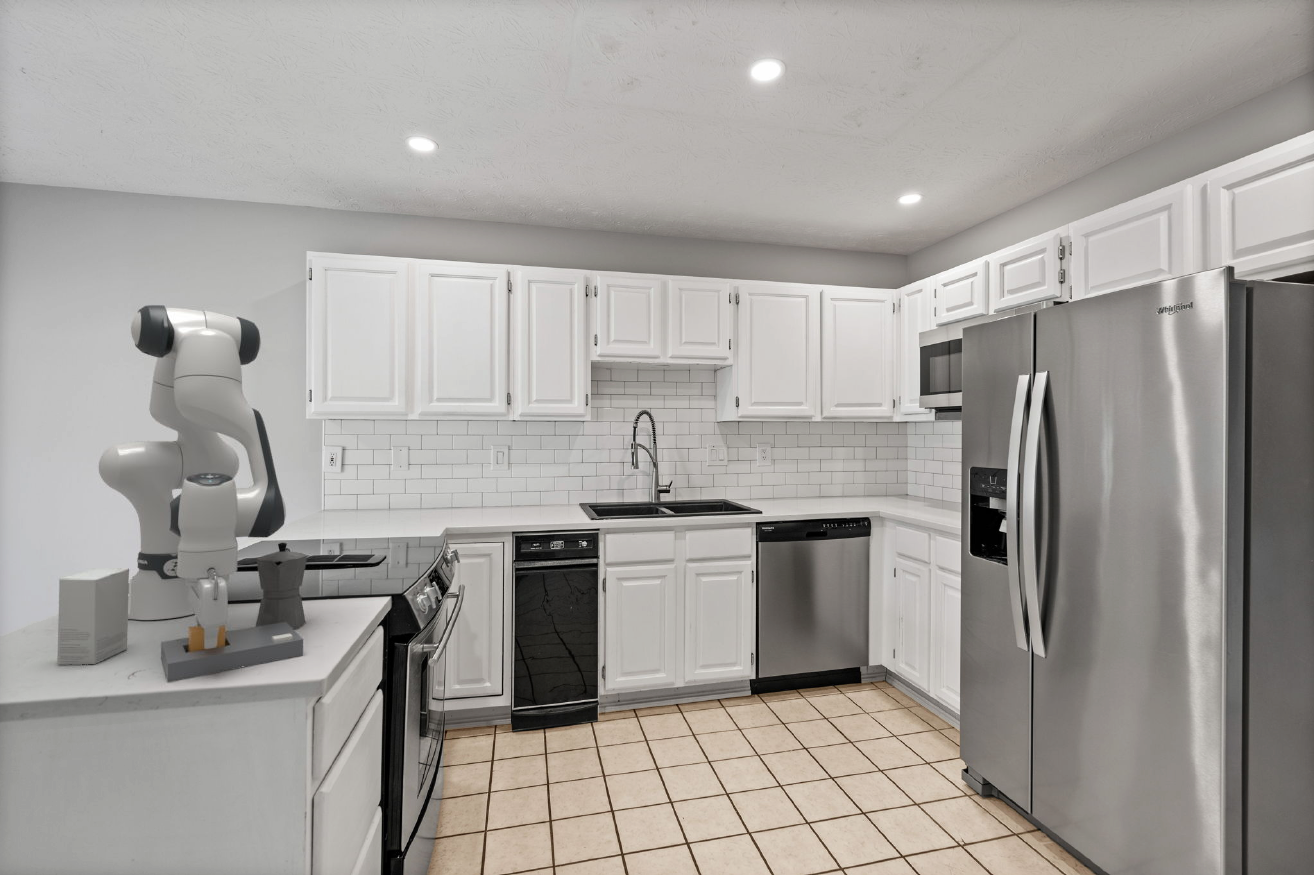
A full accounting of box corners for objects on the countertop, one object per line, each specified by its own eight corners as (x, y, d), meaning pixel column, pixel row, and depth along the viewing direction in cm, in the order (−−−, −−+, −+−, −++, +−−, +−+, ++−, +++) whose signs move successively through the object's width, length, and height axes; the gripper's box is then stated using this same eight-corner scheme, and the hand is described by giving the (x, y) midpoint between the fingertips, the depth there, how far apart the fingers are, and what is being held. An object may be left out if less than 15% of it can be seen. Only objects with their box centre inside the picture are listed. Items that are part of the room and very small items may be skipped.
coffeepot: (302, 633, 129) (304, 546, 129) (249, 638, 125) (251, 549, 125) (309, 613, 143) (311, 535, 143) (261, 617, 139) (263, 537, 139)
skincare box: (93, 649, 117) (95, 567, 117) (131, 649, 118) (132, 567, 118) (54, 666, 109) (56, 577, 109) (94, 665, 110) (96, 577, 110)
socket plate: (160, 658, 114) (161, 638, 114) (285, 636, 127) (286, 618, 127) (167, 681, 103) (168, 660, 103) (302, 655, 117) (303, 636, 117)
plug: (188, 659, 112) (188, 627, 112) (221, 653, 115) (222, 622, 115) (190, 664, 109) (191, 632, 109) (224, 658, 113) (225, 626, 113)
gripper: (238, 571, 107) (237, 652, 107) (220, 553, 122) (219, 623, 122) (193, 576, 103) (191, 660, 103) (180, 557, 118) (178, 629, 118)
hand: (206, 640), depth 112 cm, fingers open, 8 cm apart
